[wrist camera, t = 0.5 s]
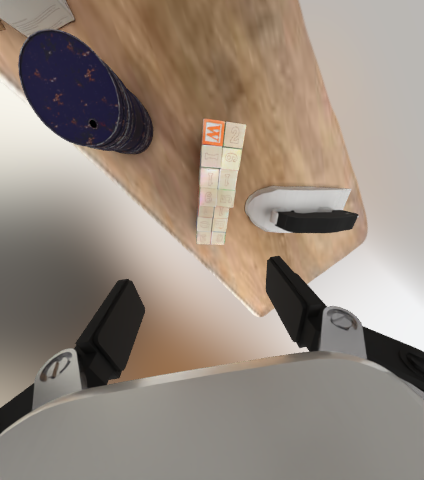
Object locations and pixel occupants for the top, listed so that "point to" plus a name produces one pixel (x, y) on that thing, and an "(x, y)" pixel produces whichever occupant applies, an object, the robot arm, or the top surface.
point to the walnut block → (1, 26)
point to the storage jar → (81, 95)
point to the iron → (300, 209)
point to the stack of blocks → (217, 178)
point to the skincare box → (35, 14)
